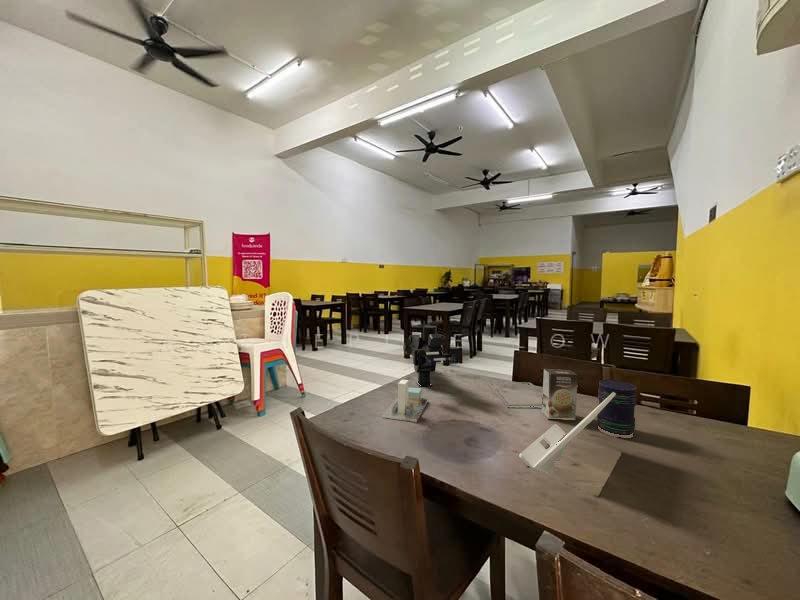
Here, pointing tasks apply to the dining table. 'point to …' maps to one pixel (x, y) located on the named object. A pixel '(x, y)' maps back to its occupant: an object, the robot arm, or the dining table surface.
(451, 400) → the dining table surface
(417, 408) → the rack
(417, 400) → the block
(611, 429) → the storage jar
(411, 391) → the offcut top
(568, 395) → the cookie box
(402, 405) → the cream rectangular block
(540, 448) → the tablet stand
